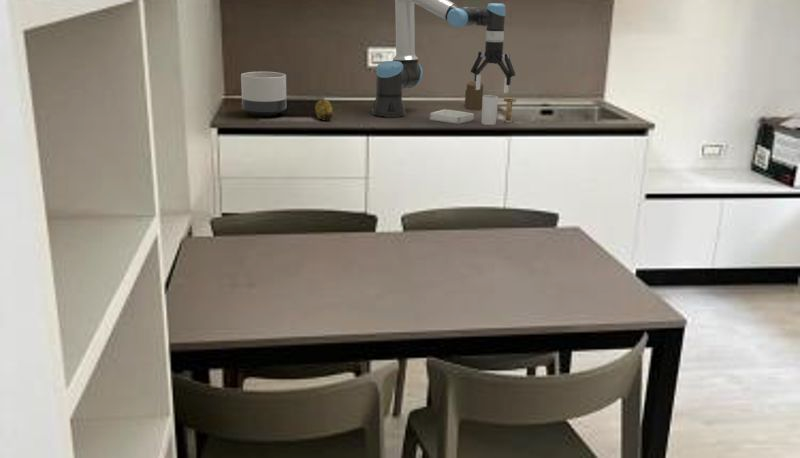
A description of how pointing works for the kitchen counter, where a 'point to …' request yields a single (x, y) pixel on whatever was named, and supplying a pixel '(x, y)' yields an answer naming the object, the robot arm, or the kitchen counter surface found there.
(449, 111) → the tray
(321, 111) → the potato
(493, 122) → the mug
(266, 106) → the planter
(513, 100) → the post
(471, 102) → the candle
